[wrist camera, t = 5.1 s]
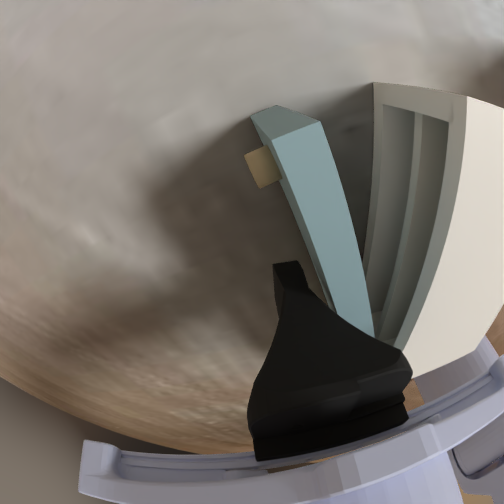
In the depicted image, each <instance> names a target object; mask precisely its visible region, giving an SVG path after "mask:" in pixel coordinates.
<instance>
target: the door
mask: <svg viewBox="0 0 504 504" xmlns="http://www.w3.org/2000/svg"><path fill="white" fill-rule="evenodd" d="M250 118H251V120H252V122H253V124H254V126H255V128H256V130H257V132H258V135H259V137H260V139H261V141H262V143H263V145H264V146H263V147H261V148H258V149H256V150H254V151H252V152H249V153H247V154H245V155H244V157H245V160H246V162H247V165H248V167H249V169H250V171H251V173H252V175H253V178H254V180H255V182H256V184H257V186H258V187H259V189H260V188H262V187H265V186H267V185H269V184H271V183H274V182H276V181H278V180H279V181H280V184H281V186H282V188H283V191H284V193H285V195H286V198H287V200H288V202H289V205H290V207H291V210H292V212H293V214H294V217H295V219H296V222H297V224H298V227H299V229H300V232H301V234H302V237H303V239H304V242H305V244H306V247H307V249H308V252H309V254H310V257H311V260H312V262H313V265H314V268H315V270H316V273H317V276H318V278H319V281H320V284H321V286H322V289H323V292H324V295H325V297H326V300H327V303H328V306H329V308H330V309H332V310H333V311H334V312H335V313H337V314H338V315H339V316H340V317H342V318H343V319H344V320H346V321H347V322H349V323H350V324H352V325H353V326H355V327H356V328H358V329H360V330H361V331H363V332H364V333H366V334H368V335H370V336H372V337H374V338H375V336H374V329H373V322H372V315H371V309H370V303H369V298H368V292H367V287H366V281H365V276H364V272H363V267H362V262H361V257H360V253H359V249H358V244H357V240H356V236H355V232H354V228H353V224H352V220H351V216H350V212H349V209H348V205H347V201H346V198H345V194H344V191H343V188H342V184H341V181H340V178H339V174H338V171H337V168H336V165H335V162H334V159H333V156H332V153H331V150H330V147H329V144H328V141H327V138H326V135H325V133H324V130H323V127H322V125H321V122H320V121H319V120H316V119H314V118H311V117H308V116H306V115H303V114H301V113H298V112H295V111H292V110H289V109H287V108H284V107H281V106H278V105H275V106H273V107H270V108H268V109H265V110H263V111H261V112H258V113H256V114H253V115H251V116H250Z"/></svg>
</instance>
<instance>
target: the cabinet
mask: <svg viewBox="0 0 504 504" xmlns="http://www.w3.org/2000/svg"><path fill="white" fill-rule="evenodd" d="M373 90H374V148H373V169H372V184H371V196H370V207H369V216H368V225H367V233H366V241H365V248H364V255H363V261H362V267H363V272H364V276H365V281H366V287H367V292H368V298H369V303H370V309H371V315H372V322H373V329H374V336H375V338H376V339H377V340H379V341H382V342H384V343H386V344H389V345H391V346H393V347H396V348H398V349H400V350H401V351H402V353H403V354H404V356H405V357H406V358H407V360H408V362H409V364H410V366H411V368H412V370H413V375H412V378H414V377H417V376H420V375H422V374H425V373H427V372H429V371H432V370H434V369H436V368H439V367H441V366H443V365H446V364H448V363H450V362H452V361H454V360H456V359H458V358H460V357H462V356H465V355H467V354H468V353H470V352H472V351H474V350H475V349H476V347H477V346H478V344H479V343H480V341H481V340H482V338H483V337H484V335H485V334H486V332H487V331H488V329H489V327H490V326H491V324H492V323H493V321H494V319H495V318H496V316H497V314H498V312H499V311H500V309H501V307H502V305H503V304H504V109H503V108H501V107H498V106H495V105H493V104H490V103H487V102H484V101H481V100H478V99H475V98H472V97H468V96H465V95H460V94H456V93H451V92H446V91H441V90H435V89H429V88H423V87H416V86H408V85H400V84H390V83H377V82H373ZM412 378H411V379H412Z"/></svg>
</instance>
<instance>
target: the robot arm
mask: <svg viewBox="0 0 504 504" xmlns="http://www.w3.org/2000/svg"><path fill="white" fill-rule="evenodd" d="M273 277H274V291H275V301H276V306H277V311H278V316H279V322H278V326H277V329H276V333H275V336H274V339H273V342H272V345H271V347H270V350H269V352H268V354H267V357H266V359H265V362H264V364H263V366H262V368H261V370H260V372H259V374H258V375H257V377H256V379H255V381H254V384H253V388H252V392H251V395H250V399H249V403H248V408H247V420H248V428H249V431H250V433H251V435H252V438H253V444H254V451H252V452H242V453H230V454H210V455H171V454H152V453H140V452H131V451H122V450H120V449H119V448H117V447H116V446H114V445H111V444H107V443H103V442H97V441H91V440H84V443H83V450H82V457H81V465H80V475H79V486H78V487H79V488H78V491H79V492H80V493H82V494H86V495H89V496H93V497H96V498H99V499H103V500H107V501H111V502H115V503H119V504H464V503H463V500H462V496H461V493H460V490H459V486H458V483H457V480H458V482H459V484H460V487H461V489H463V492H464V493H467V494H476V495H490V496H492V499H493V502H494V504H504V354H503V355H502V356H500V357H499V356H498V354H497V353H496V351H495V349H494V348H493V346H492V345H491V343H490V342H489V340H488V339H487V337H486V336H485V335H484V337H483V338H482V340H481V341H480V343H479V344H478V346H477V347H476V349H475V350H474V351H472V352H470V353H468V354H467V355H465V356H462V357H460V358H458V359H456V360H454V361H452V362H450V363H448V364H446V365H443V366H441V367H439V368H436V369H434V370H432V371H429V372H427V373H425V374H422V375H420V376H417V377H414V380H415V383H416V385H417V387H418V389H419V391H420V394H421V396H422V398H423V400H424V403H425V404H424V405H422V406H420V407H418V408H415V409H413V410H411V411H408V412H407V411H406V409H405V406H404V404H403V402H404V401H405V397H404V395H403V393H402V391H403V390H404V389H405V387H406V386H407V384H408V383H409V381H410V380H411V378H412V375H413V370H412V368H411V366H410V364H409V362H408V360H407V358H406V357H405V356H404V354H403V353H402V351H401V350H400V349H398V348H396V347H393V346H391V345H389V344H386V343H384V342H382V341H379V340H377V339H376V338H374V337H372V336H370V335H368V334H366V333H364V332H363V331H361V330H360V329H358V328H356V327H355V326H353V325H352V324H350V323H349V322H347V321H346V320H344V319H343V318H342V317H340V316H339V315H338V314H337V313H335V312H334V311H333V310H332V309H330V308H329V307H328V306H327V305H326V304H325V303H324V302H322V301H321V300H320V299H319V298H318V297H317V296H316V295H315V294H314V293H313V292H312V291H311V290H310V289H309V288H308V284H307V281H306V278H305V275H304V272H303V269H302V267H301V266H300V264H299V262H298V261H297V260H296V261H290V262H283V263H276V264H273ZM405 431H406V432H405ZM403 432H404V433H403ZM400 433H402V434H400ZM398 434H399V435H398ZM395 435H397V436H395ZM393 436H394V437H393ZM390 437H392V438H390ZM388 438H389V439H388ZM385 439H387V440H385ZM382 440H384V441H382ZM379 441H381V442H379ZM377 442H379V443H377ZM374 443H376V444H374ZM371 444H373V445H371ZM368 445H370V446H368ZM365 446H367V447H365ZM362 447H364V448H362ZM359 448H361V449H359ZM356 449H358V450H356ZM352 450H355V451H352ZM349 451H351V452H349ZM346 452H348V453H346ZM342 453H345V454H342ZM338 454H342V455H339V456H336V457H333V458H331V459H328V460H326V461H323V462H319V463H316V464H312V465H308V466H304V467H300V468H296V469H292V470H287V471H283V472H277V473H272V474H268V471H267V470H261V469H268V468H275V467H282V466H289V465H294V464H300V463H305V462H309V461H314V460H318V459H323V458H327V457H331V456H335V455H338ZM495 460H496V461H495ZM492 462H493V463H492ZM456 479H457V480H456Z"/></svg>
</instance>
